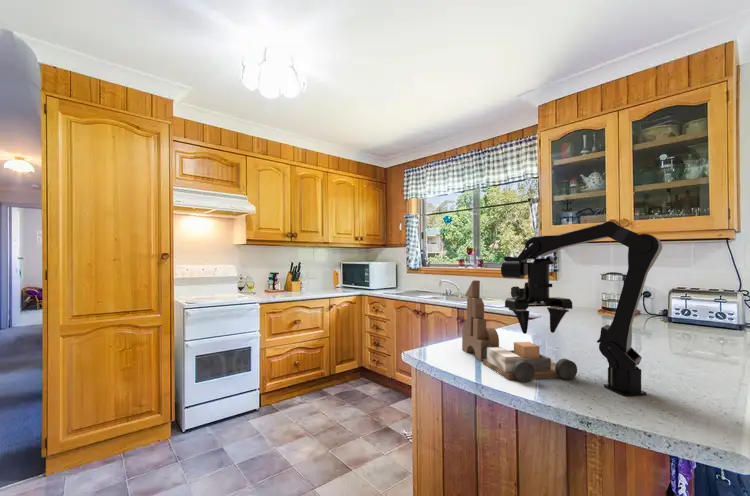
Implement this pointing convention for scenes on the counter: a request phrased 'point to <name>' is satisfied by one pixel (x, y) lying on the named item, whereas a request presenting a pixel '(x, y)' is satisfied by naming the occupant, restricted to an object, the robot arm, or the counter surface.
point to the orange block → (526, 350)
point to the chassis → (526, 365)
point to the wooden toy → (477, 324)
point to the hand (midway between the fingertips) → (538, 332)
